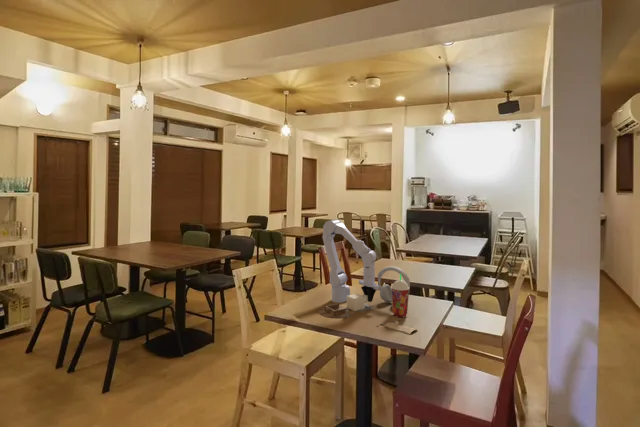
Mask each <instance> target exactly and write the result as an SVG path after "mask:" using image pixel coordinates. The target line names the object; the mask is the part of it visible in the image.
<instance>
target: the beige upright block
mask: <svg viewBox="0 0 640 427" xmlns="http://www.w3.org/2000/svg"><path fill="white" fill-rule="evenodd" d="M367 303H369V302H368V295H364V294H361V295H360V294H359V293H356V294H355V293H354V294H350V295H348V296H347V301H346V307H347V308H349V309H351V310H353V311H355V312H358V311H357V310H362V309H365V304H367Z"/></svg>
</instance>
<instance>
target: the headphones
mask: <svg viewBox="0 0 640 427" xmlns="http://www.w3.org/2000/svg"><path fill="white" fill-rule="evenodd" d="M388 271H394V272H396V273H398V274H399V275H400V274H401V278H403V279H402V280H403V281H405V282H406V283H407V284H408V287H409V290H410V287H411V284H410V280H411V279H410V277H409V275H408V273H406V271H405V270H403V269H402V268H400V267H398V266H393V265H390V266H386V267H383V268H382V269H381V270H380V271H379V272H378V274H377V285H378V286H380V290H379V296H380V299H381V300H383V302H385V303H386V304H390V303H392V286H390V285H389V284H387V283H385V284H382V286H381V281H382V280H381V279H382V276H383V275H384V274H385V273H386V272H388Z"/></svg>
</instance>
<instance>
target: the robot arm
mask: <svg viewBox="0 0 640 427" xmlns="http://www.w3.org/2000/svg"><path fill="white" fill-rule="evenodd" d="M322 228H323V231H322V236H321V237H322V238H321V239H322V241H323V245H324V249H325V252H326V257H327V260H328V263H329V267H330V271H329V284H330V285H331V302H332V303H336V304H340V303H345V302H347V296H348V295H351V289H350V286H349V285H348V284H346V283H347V281H348V276H347V274H346V272H345V269H344V268H343V267H342V266H341V262H340V260H339V255H338V252H337V251H338V250H337V248H336V244H335V241H334V238H335V236H336V234H337V235H338V234H339V235H342V237H344V238H345V239H346V240H347V241H348V242H349V243H350V244H351V245H352V247H351V248H352V249H353V251H355V252H356V253H357V254H358V255H359V256H360V257H361V260H362V262H363V279H359V280H358V284H359V285H361V287H360V288H361V290H362V292H363V295H368V302H367V303H372V302H373V301H374V300H373V299H374V296H375V293H376V292H377V291H380V286H378V283H375V282H376V278H375V277H376V260H377V257H378V256H377V253H376V252H375V251H374V250H372V249H371V248H370V247H368V246H367V245H366V244H365V242H364V240H361V239H357V238H356V237H355V236H354V235H353V233H352V232H350V230H349V229H348V228H347V227H346V225H345V224H344V223H343V222H342V221H341V220H340V219H336V218H335V219H333V220H327V221H325V223H324V224H323V226H322Z"/></svg>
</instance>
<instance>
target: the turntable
mask: <svg viewBox="0 0 640 427" xmlns="http://www.w3.org/2000/svg"><path fill="white" fill-rule="evenodd" d="M356 312H357V311H353V310H351V309H349V308H347V306H342V305H340V303H335V304H329V305H325V306H324V307H322V308H321V309H318V314H319V315H320V317H321V316H322V317H323V318H327V319H328V318H329V319H335V320H336V319H337V320H338V319H348V318H351V317H353V316H355V315H356Z"/></svg>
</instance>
